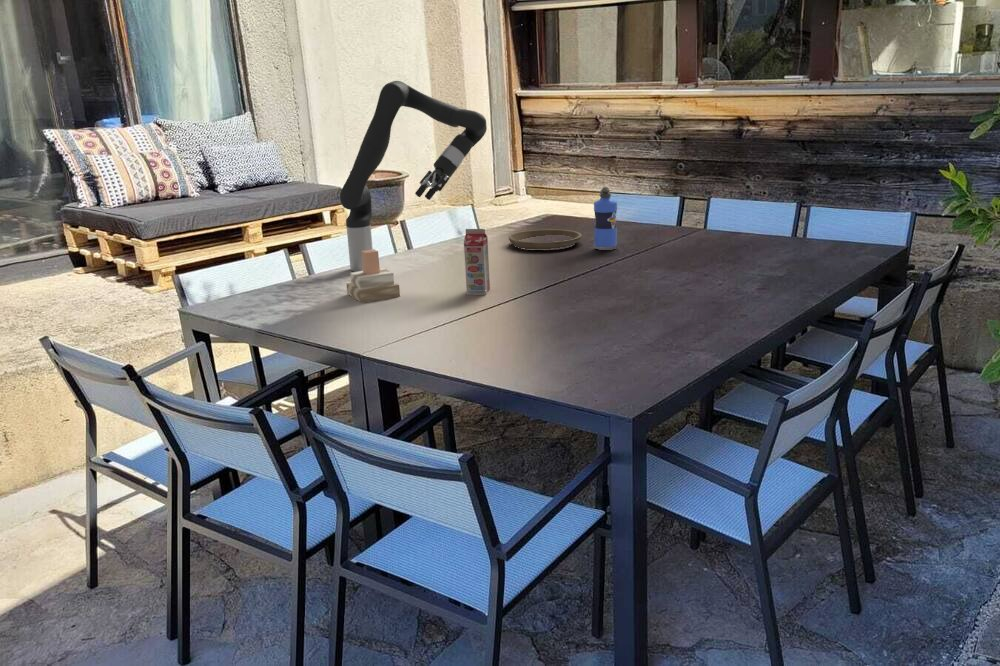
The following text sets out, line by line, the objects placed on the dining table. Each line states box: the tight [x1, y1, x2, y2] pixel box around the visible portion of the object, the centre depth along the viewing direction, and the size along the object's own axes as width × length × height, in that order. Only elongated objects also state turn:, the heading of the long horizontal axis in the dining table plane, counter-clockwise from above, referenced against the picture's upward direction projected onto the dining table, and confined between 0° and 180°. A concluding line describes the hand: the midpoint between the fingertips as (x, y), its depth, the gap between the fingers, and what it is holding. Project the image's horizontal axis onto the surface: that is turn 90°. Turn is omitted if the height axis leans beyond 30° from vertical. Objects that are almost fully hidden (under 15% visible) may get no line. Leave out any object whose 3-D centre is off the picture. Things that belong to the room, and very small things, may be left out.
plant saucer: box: [508, 228, 583, 249], centre depth 372 cm, size 31×31×5 cm
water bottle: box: [593, 186, 618, 247], centre depth 356 cm, size 9×9×25 cm
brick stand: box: [345, 267, 401, 303], centre depth 301 cm, size 14×14×8 cm
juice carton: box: [463, 228, 491, 296], centre depth 297 cm, size 7×7×22 cm
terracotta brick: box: [361, 248, 381, 275], centre depth 299 cm, size 4×4×8 cm
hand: (421, 196), depth 310 cm, fingers open, 8 cm apart
